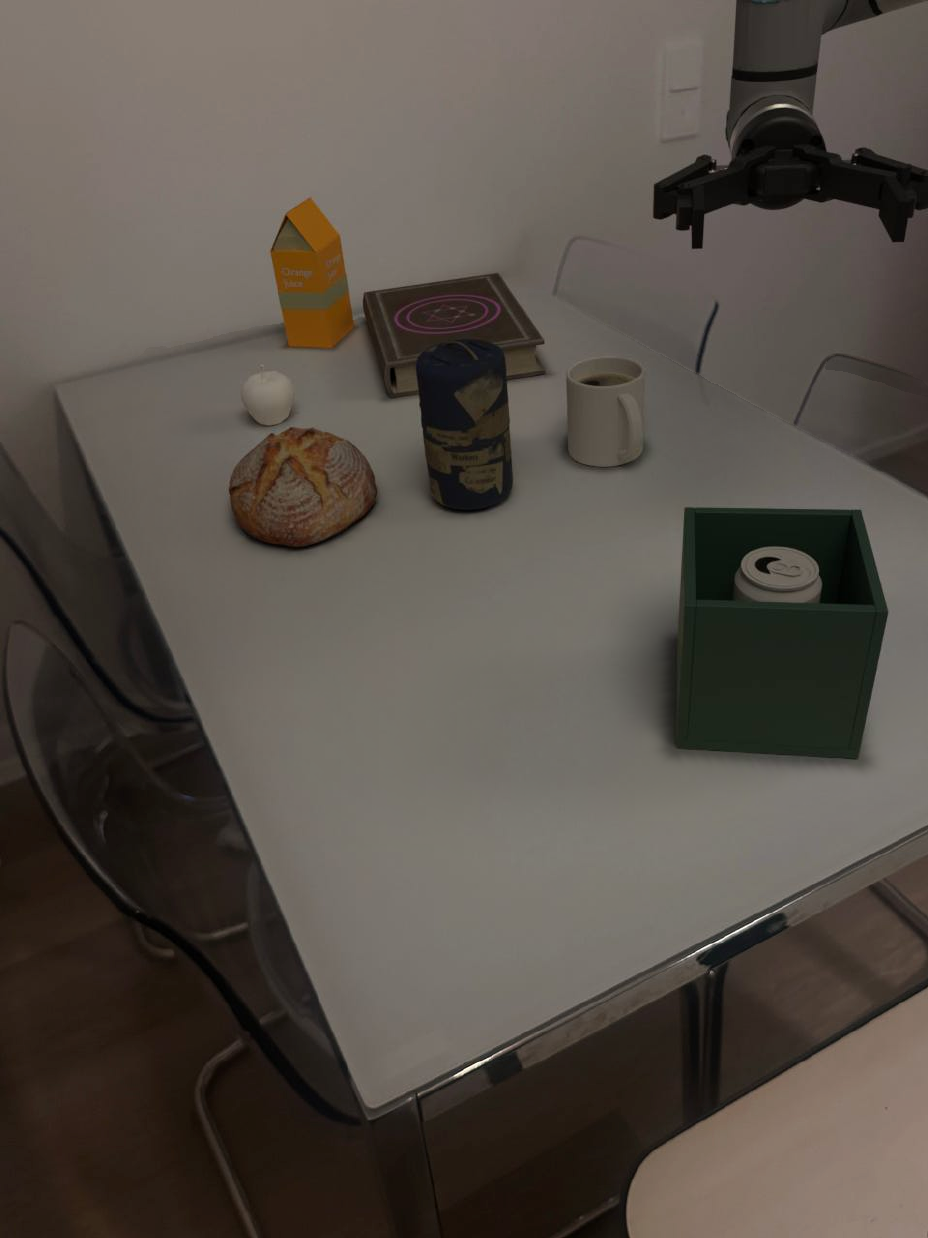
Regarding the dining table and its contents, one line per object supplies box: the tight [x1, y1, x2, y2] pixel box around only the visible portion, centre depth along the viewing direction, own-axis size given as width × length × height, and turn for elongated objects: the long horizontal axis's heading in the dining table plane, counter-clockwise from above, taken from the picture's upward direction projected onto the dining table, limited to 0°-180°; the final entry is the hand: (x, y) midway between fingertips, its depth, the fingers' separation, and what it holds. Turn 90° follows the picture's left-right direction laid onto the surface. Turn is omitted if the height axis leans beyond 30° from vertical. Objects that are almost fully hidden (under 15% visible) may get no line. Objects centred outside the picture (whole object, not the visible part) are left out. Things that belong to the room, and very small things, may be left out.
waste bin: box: [675, 506, 889, 760], centre depth 79 cm, size 14×14×14 cm
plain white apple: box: [240, 363, 295, 427], centre depth 133 cm, size 7×7×8 cm
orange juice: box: [269, 196, 355, 349], centre depth 153 cm, size 8×9×20 cm
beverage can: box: [732, 547, 822, 603], centre depth 79 cm, size 6×6×12 cm
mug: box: [565, 355, 646, 468], centre depth 116 cm, size 11×10×10 cm
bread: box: [228, 426, 378, 548], centre depth 112 cm, size 16×20×10 cm
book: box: [362, 272, 547, 399], centre depth 149 cm, size 30×22×5 cm
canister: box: [416, 339, 514, 511], centre depth 109 cm, size 10×10×18 cm
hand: (798, 225), depth 70 cm, fingers open, 13 cm apart
